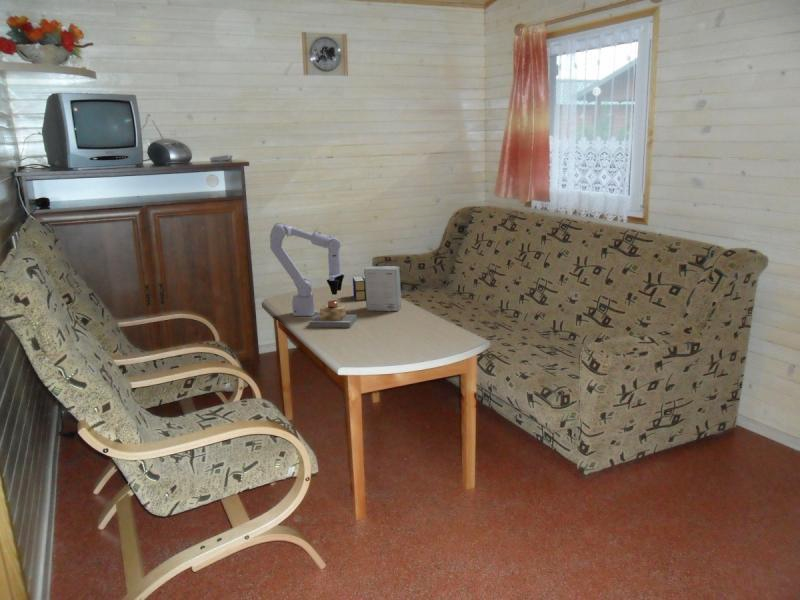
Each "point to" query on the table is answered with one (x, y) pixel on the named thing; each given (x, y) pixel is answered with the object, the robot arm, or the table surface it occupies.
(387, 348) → the table surface
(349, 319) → the loading dock
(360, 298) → the puzzle cube
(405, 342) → the table surface
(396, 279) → the hard drive box
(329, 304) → the brown rounded piece
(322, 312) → the tan rectangular block
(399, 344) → the table surface
